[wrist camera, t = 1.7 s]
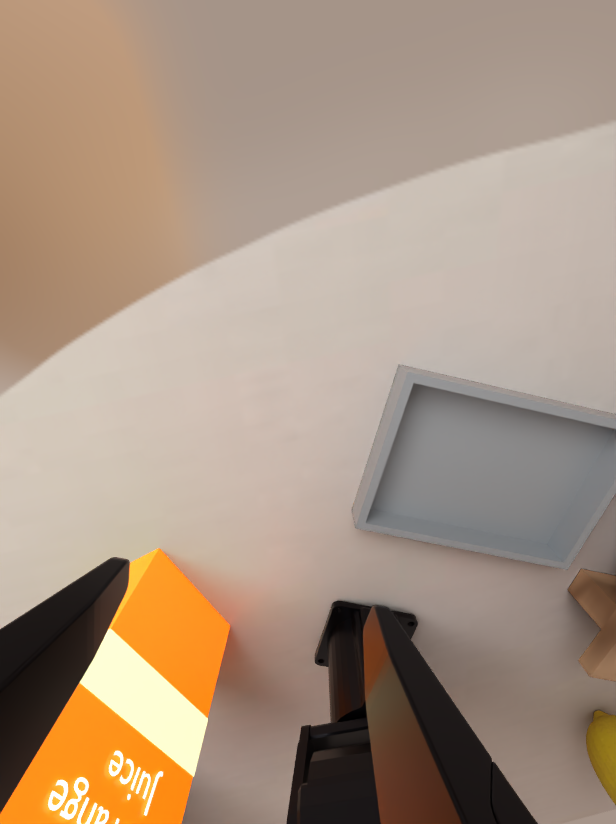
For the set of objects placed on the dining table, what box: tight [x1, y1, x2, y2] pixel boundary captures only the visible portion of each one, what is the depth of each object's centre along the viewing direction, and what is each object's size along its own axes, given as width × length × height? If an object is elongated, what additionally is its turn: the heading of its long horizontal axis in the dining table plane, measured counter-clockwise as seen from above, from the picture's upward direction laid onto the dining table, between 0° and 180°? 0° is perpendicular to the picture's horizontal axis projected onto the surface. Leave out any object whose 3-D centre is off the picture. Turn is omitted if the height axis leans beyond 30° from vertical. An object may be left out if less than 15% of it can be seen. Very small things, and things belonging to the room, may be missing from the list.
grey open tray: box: [352, 364, 616, 570], centre depth 20 cm, size 10×14×2 cm
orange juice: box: [0, 548, 230, 824], centre depth 16 cm, size 8×9×20 cm
